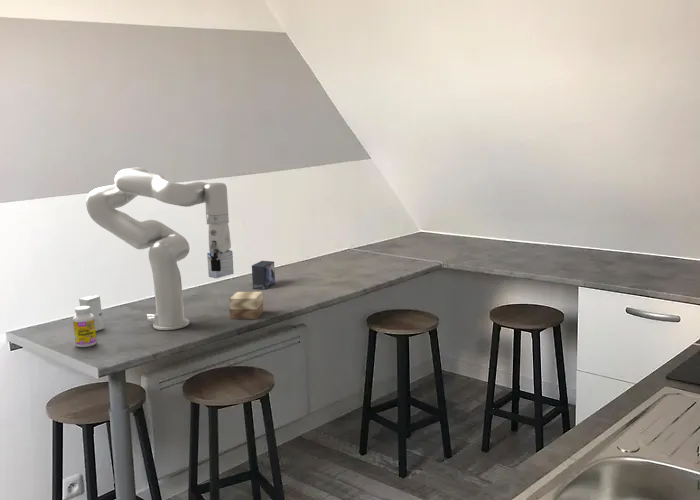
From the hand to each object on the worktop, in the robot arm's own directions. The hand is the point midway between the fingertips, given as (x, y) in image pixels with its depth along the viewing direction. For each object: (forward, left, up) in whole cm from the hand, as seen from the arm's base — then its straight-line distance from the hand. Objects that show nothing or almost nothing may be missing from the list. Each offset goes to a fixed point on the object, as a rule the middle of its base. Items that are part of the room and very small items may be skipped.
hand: (220, 267), depth 247 cm
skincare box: (-48, -4, -22) cm, 53 cm away
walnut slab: (+3, +16, -22) cm, 27 cm away
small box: (-2, +60, -22) cm, 64 cm away
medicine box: (0, 0, -3) cm, 3 cm away
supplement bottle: (-42, -20, -22) cm, 51 cm away
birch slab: (+4, +16, -18) cm, 24 cm away
